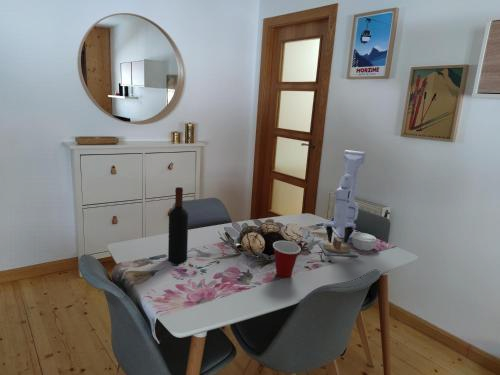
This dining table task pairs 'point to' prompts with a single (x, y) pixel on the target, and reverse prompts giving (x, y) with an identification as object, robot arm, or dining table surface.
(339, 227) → the robot arm
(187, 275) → the dining table surface
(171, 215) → the wine bottle
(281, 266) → the plastic cup
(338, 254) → the mat
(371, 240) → the ramekin
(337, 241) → the lid
